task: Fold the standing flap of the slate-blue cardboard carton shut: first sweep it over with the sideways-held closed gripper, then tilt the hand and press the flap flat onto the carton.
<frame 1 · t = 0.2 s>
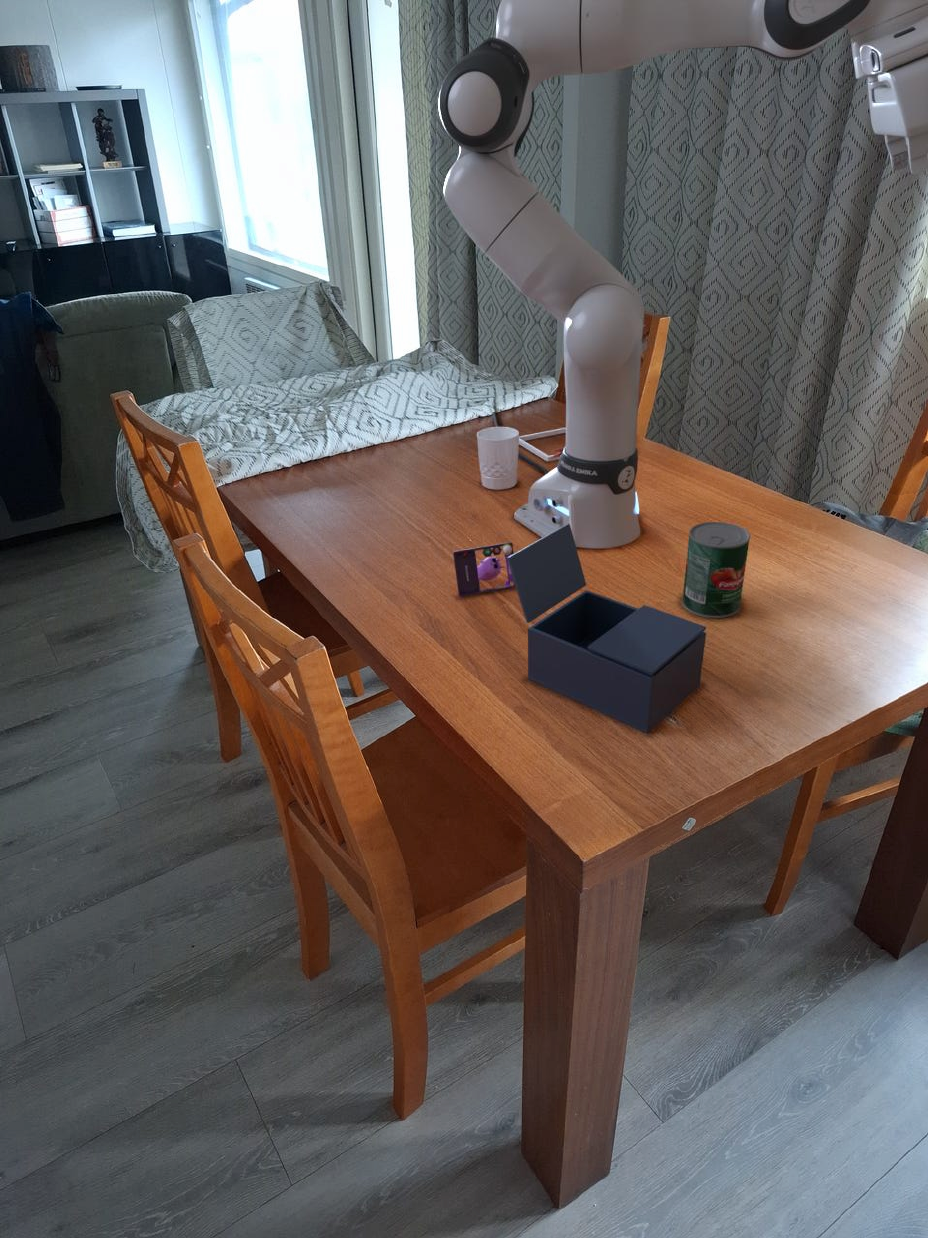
hand: (909, 170, 104), 52 cm above the table, tool tilted 20°, fingers open, 8 cm apart
flap: (548, 572, 101), point 12 cm above the table, hinge at 110.0°
game card: (484, 586, 124), on the table
photo frame: (567, 444, 177), on the table
carton: (612, 682, 101), on the table
white cup: (499, 484, 159), on the table
canned tomato: (710, 605, 116), on the table
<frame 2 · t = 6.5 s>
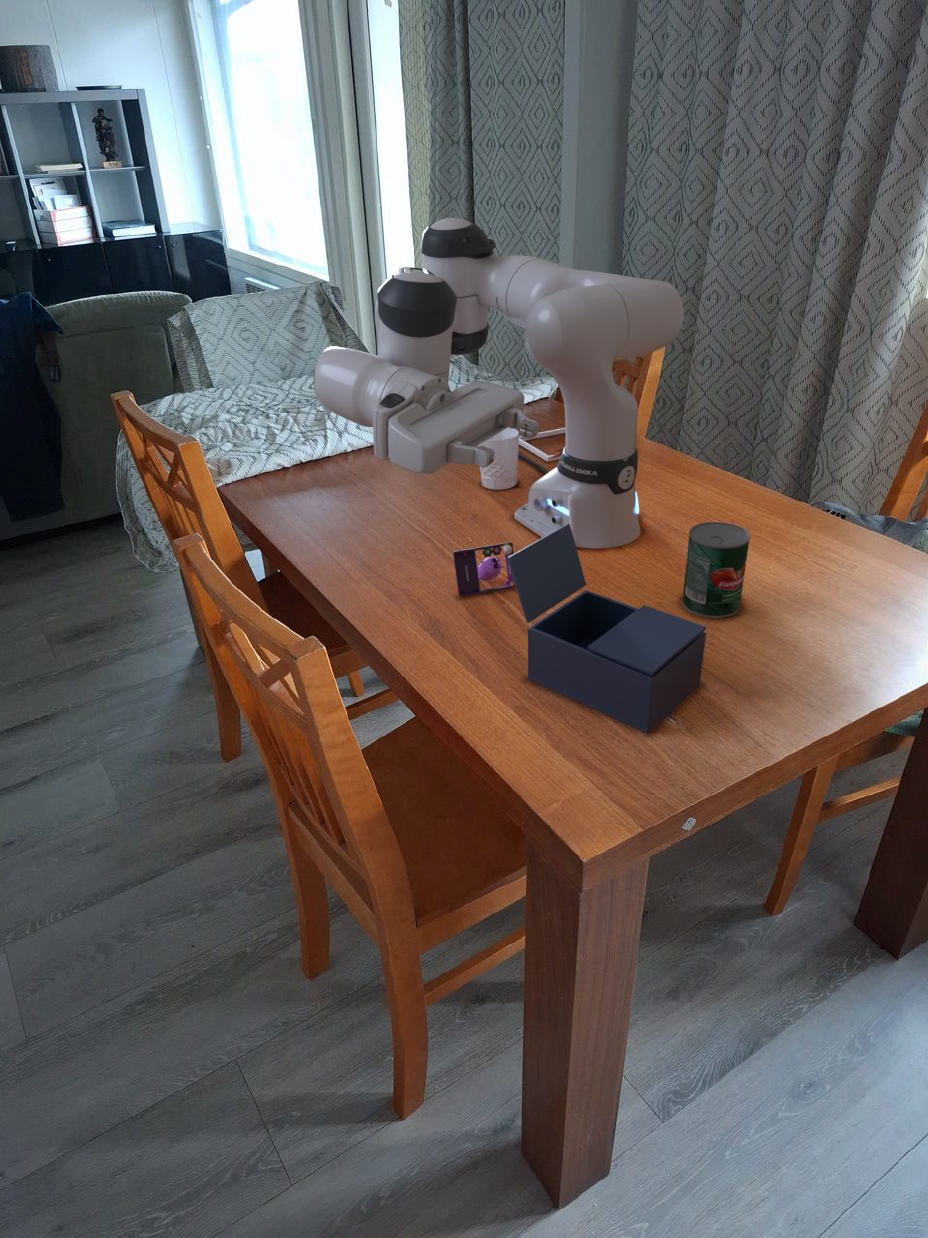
hand: (513, 444, 95), 27 cm above the table, tool horizontal, fingers open, 8 cm apart
nothing on the table moved.
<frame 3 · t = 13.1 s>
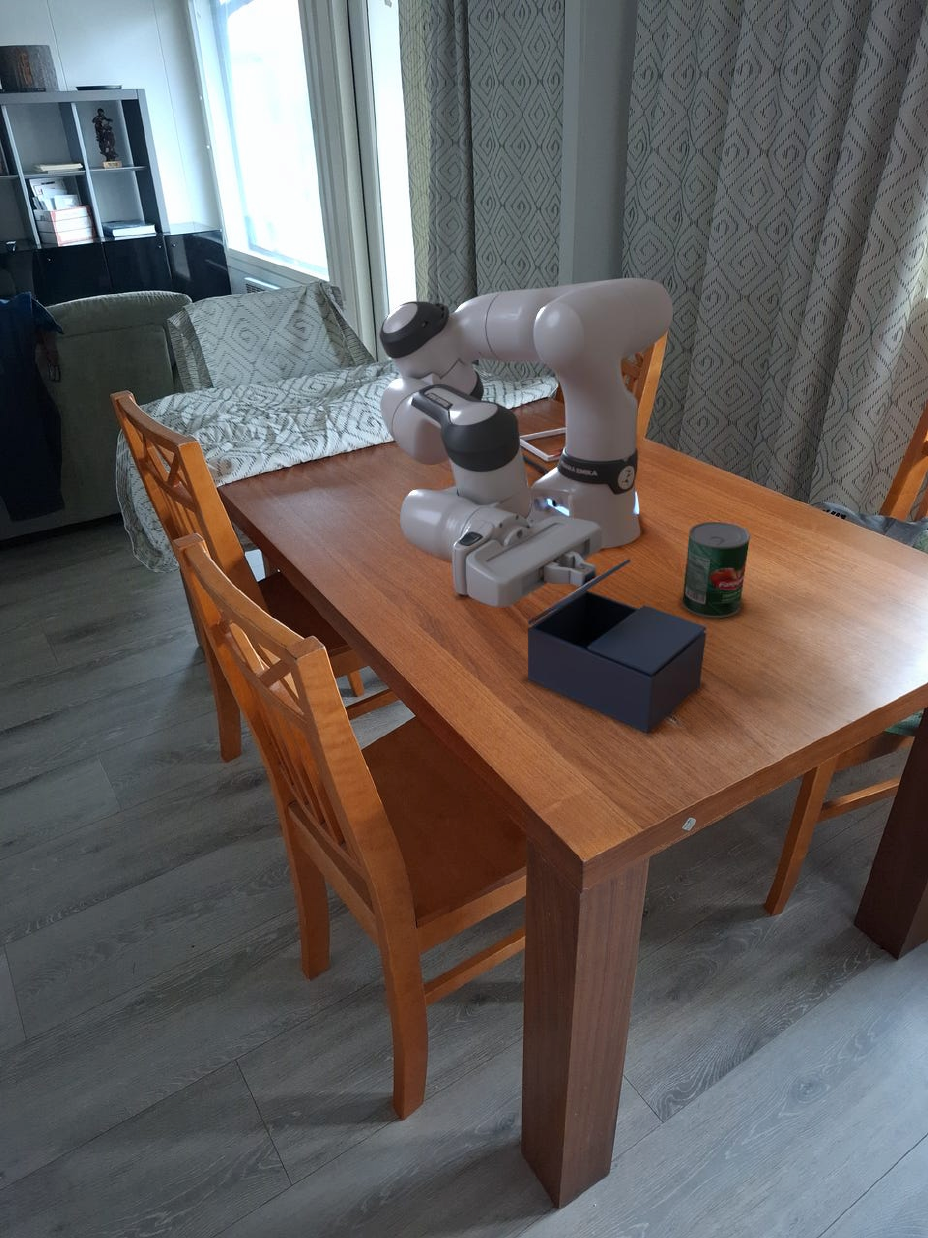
hand: (589, 576, 96), 13 cm above the table, tool horizontal, fingers closed
flap: (579, 591, 99), point 11 cm above the table, hinge at 41.9°
everything else where it was.
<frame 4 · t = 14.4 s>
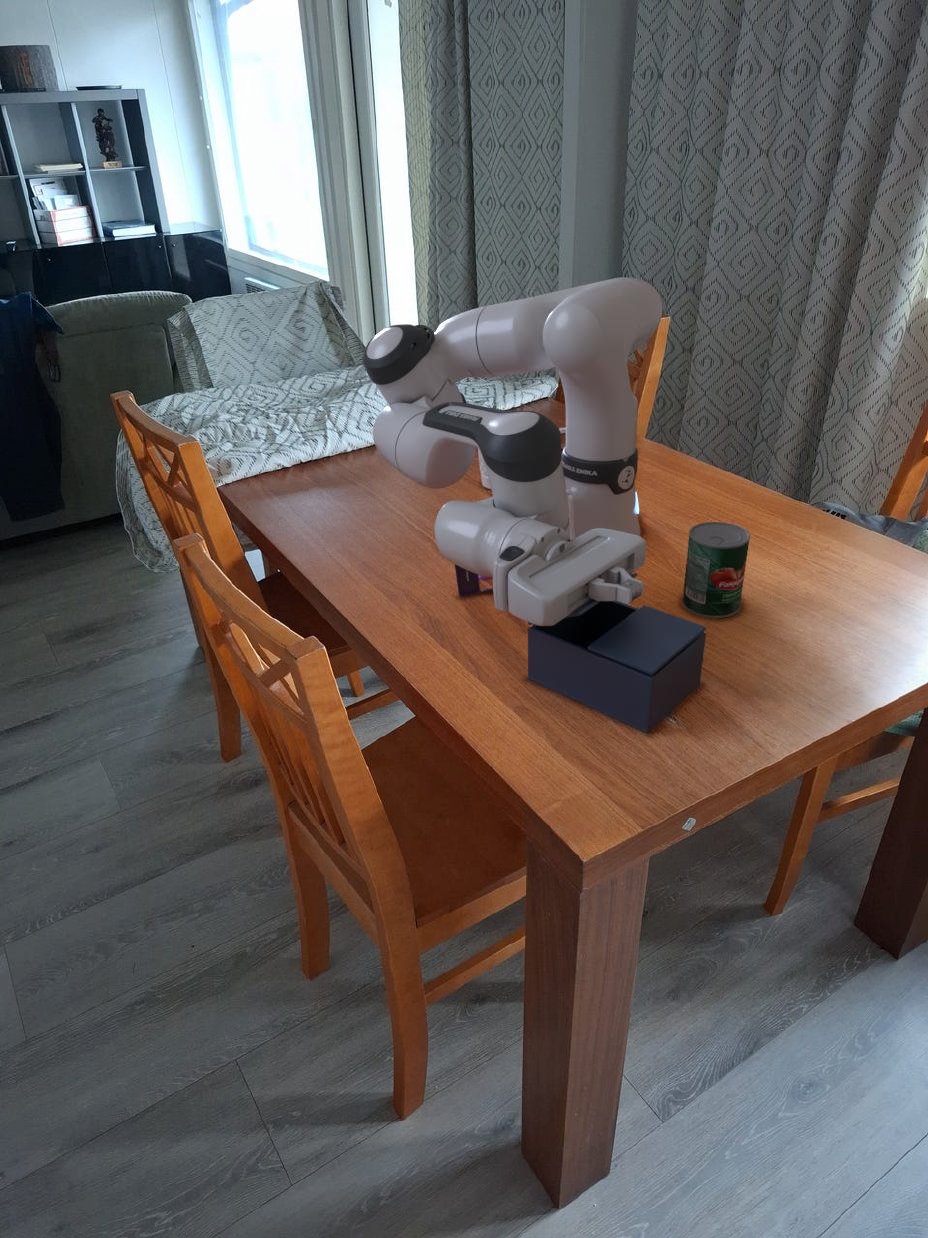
hand: (637, 593, 93), 13 cm above the table, tool horizontal, fingers closed
flap: (583, 598, 99), point 10 cm above the table, hinge at 28.6°
everything else where it was.
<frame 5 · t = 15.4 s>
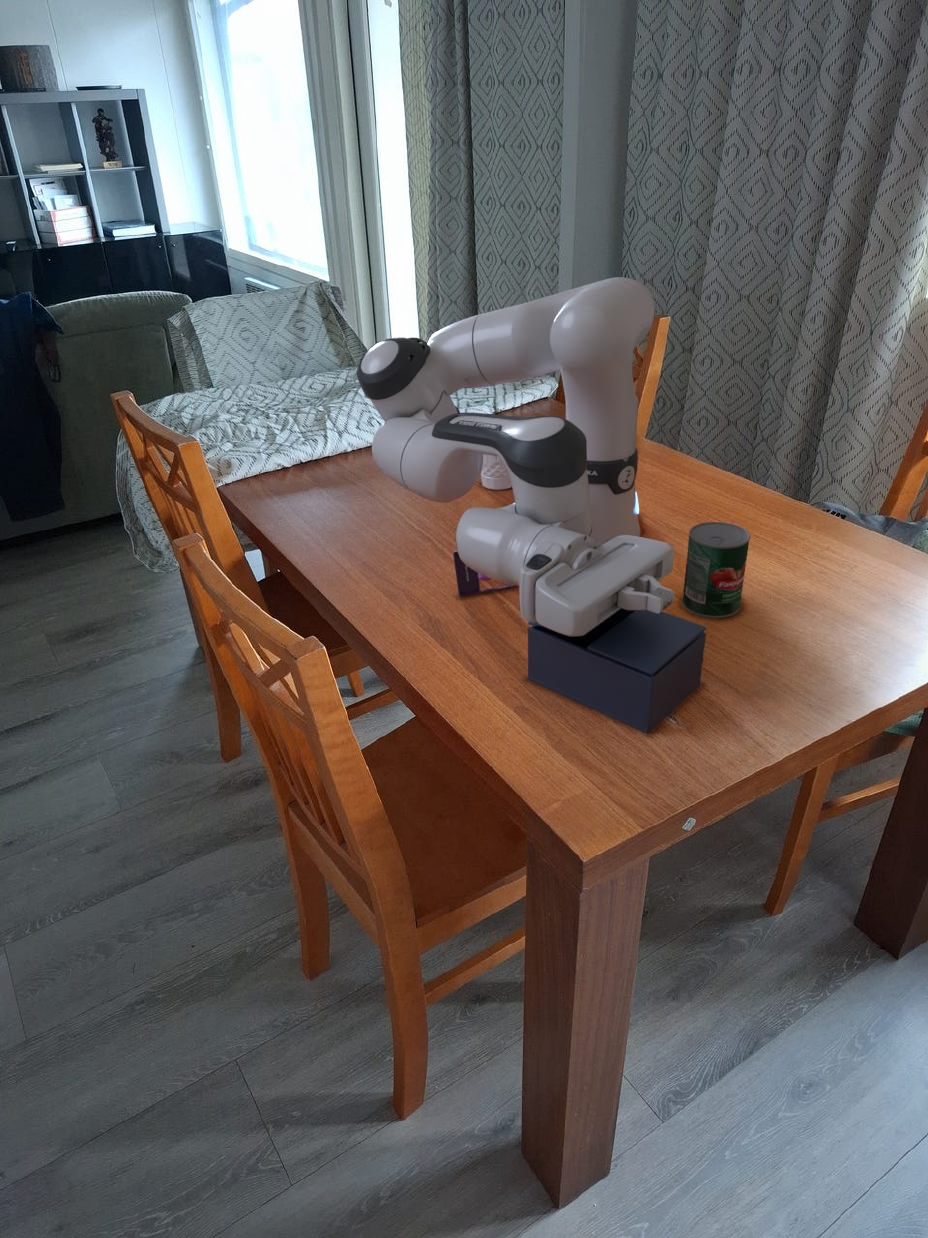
hand: (667, 602, 90), 13 cm above the table, tool horizontal, fingers closed
flap: (585, 605, 99), point 9 cm above the table, hinge at 17.1°, touching arm
everything else where it was.
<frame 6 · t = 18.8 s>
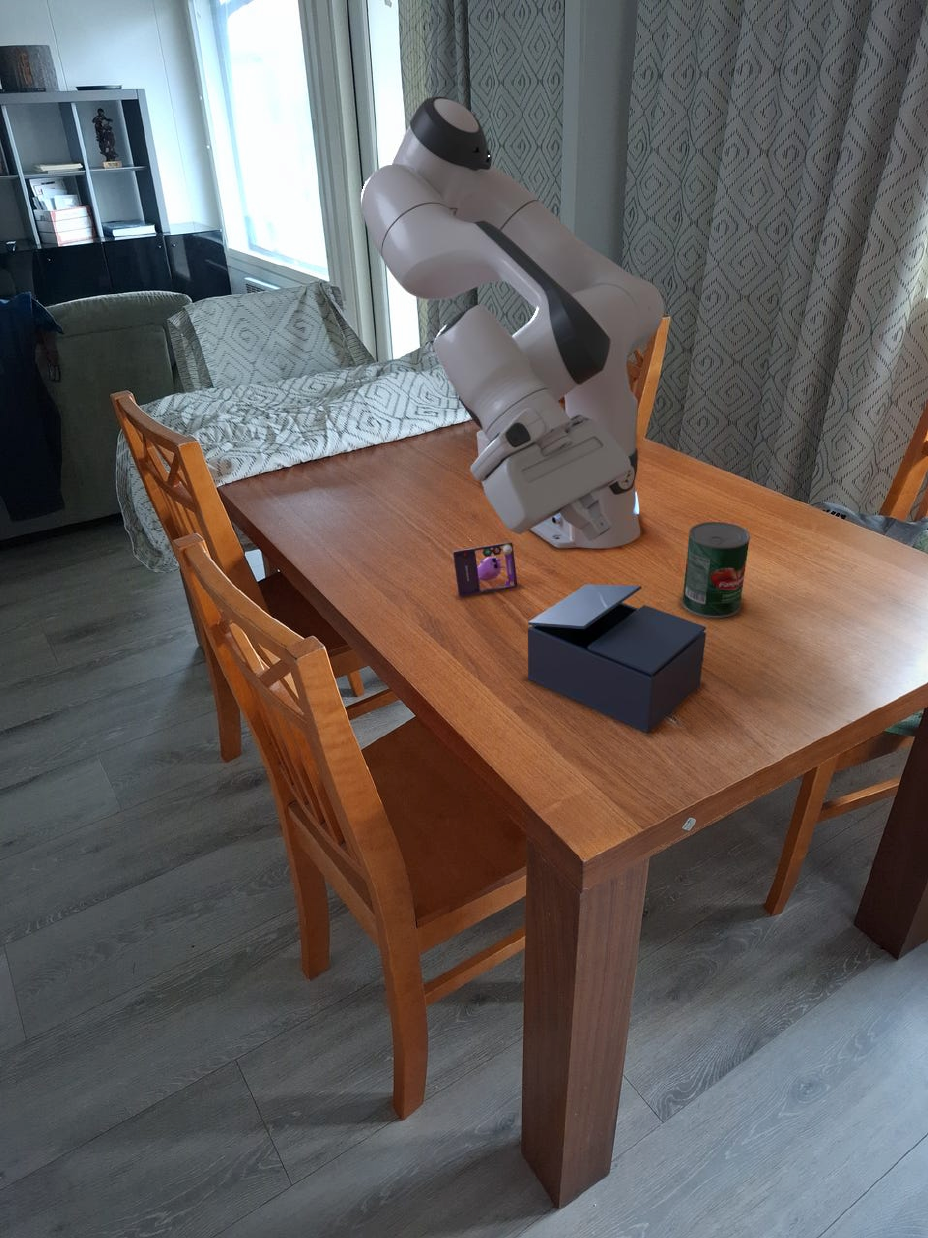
hand: (601, 534, 93), 19 cm above the table, tool tilted 45°, fingers closed
flap: (585, 605, 99), point 9 cm above the table, hinge at 17.1°
everything else where it was.
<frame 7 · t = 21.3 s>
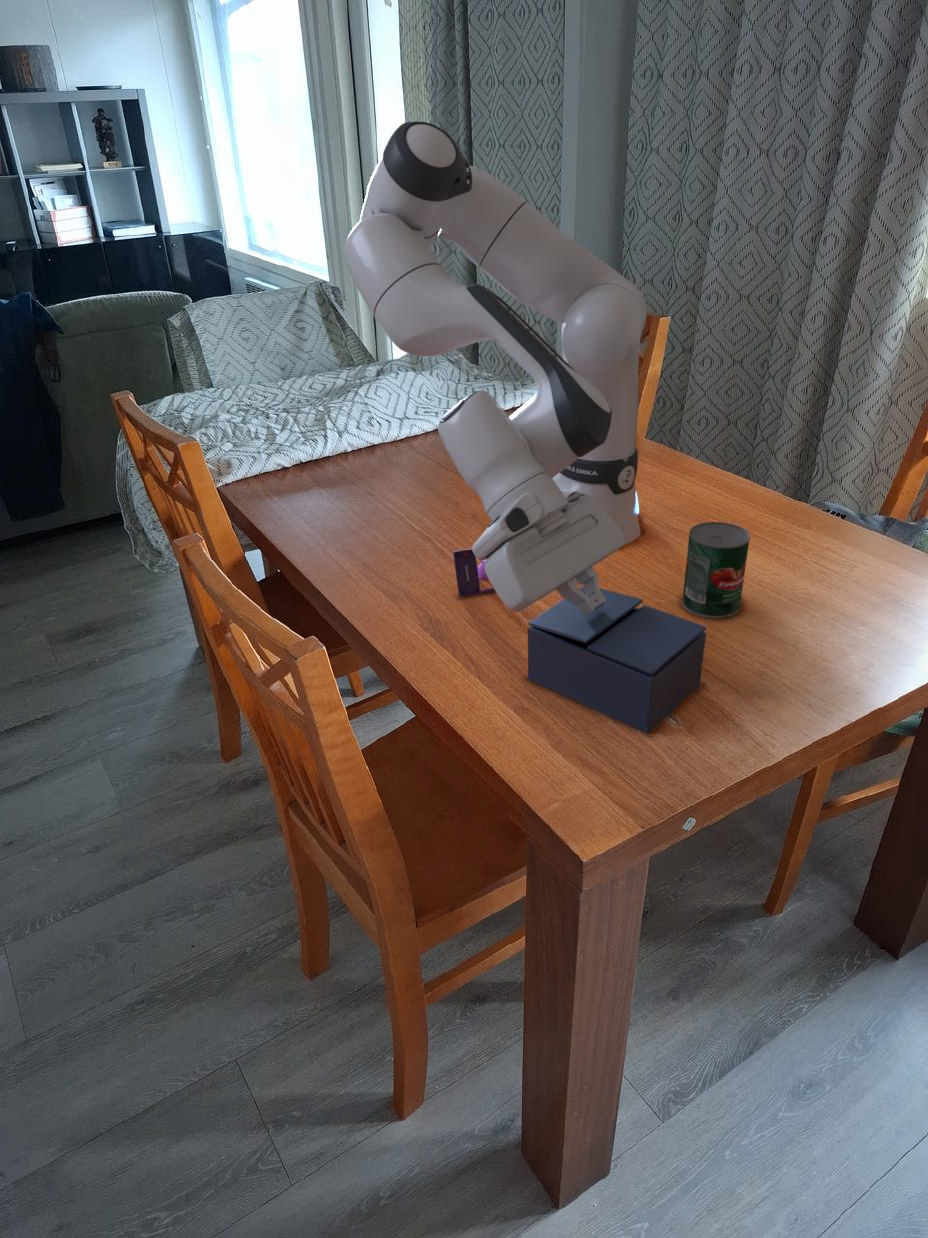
hand: (596, 609, 98), 9 cm above the table, tool tilted 45°, fingers closed, pressing on flap
flap: (586, 612, 99), point 8 cm above the table, hinge at 4.9°, touching gripper
everything else where it was.
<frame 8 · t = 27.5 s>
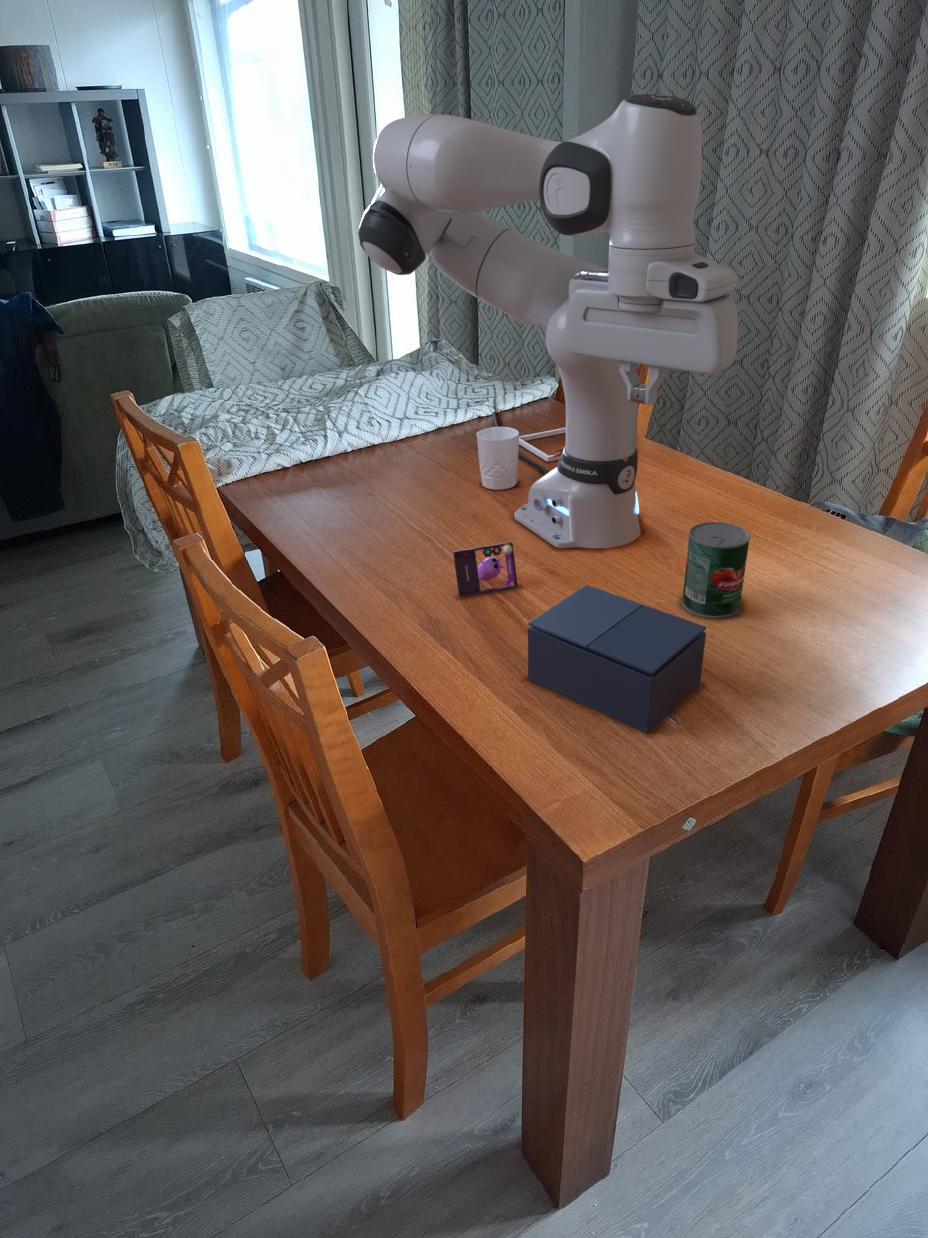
hand: (641, 402, 95), 31 cm above the table, tool pointing down, fingers closed
flap: (586, 614, 99), point 8 cm above the table, hinge at 0.1°
everything else where it was.
at the end: flap at +0° (first picture: +110°); canned tomato moved 0.2 cm from its start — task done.
